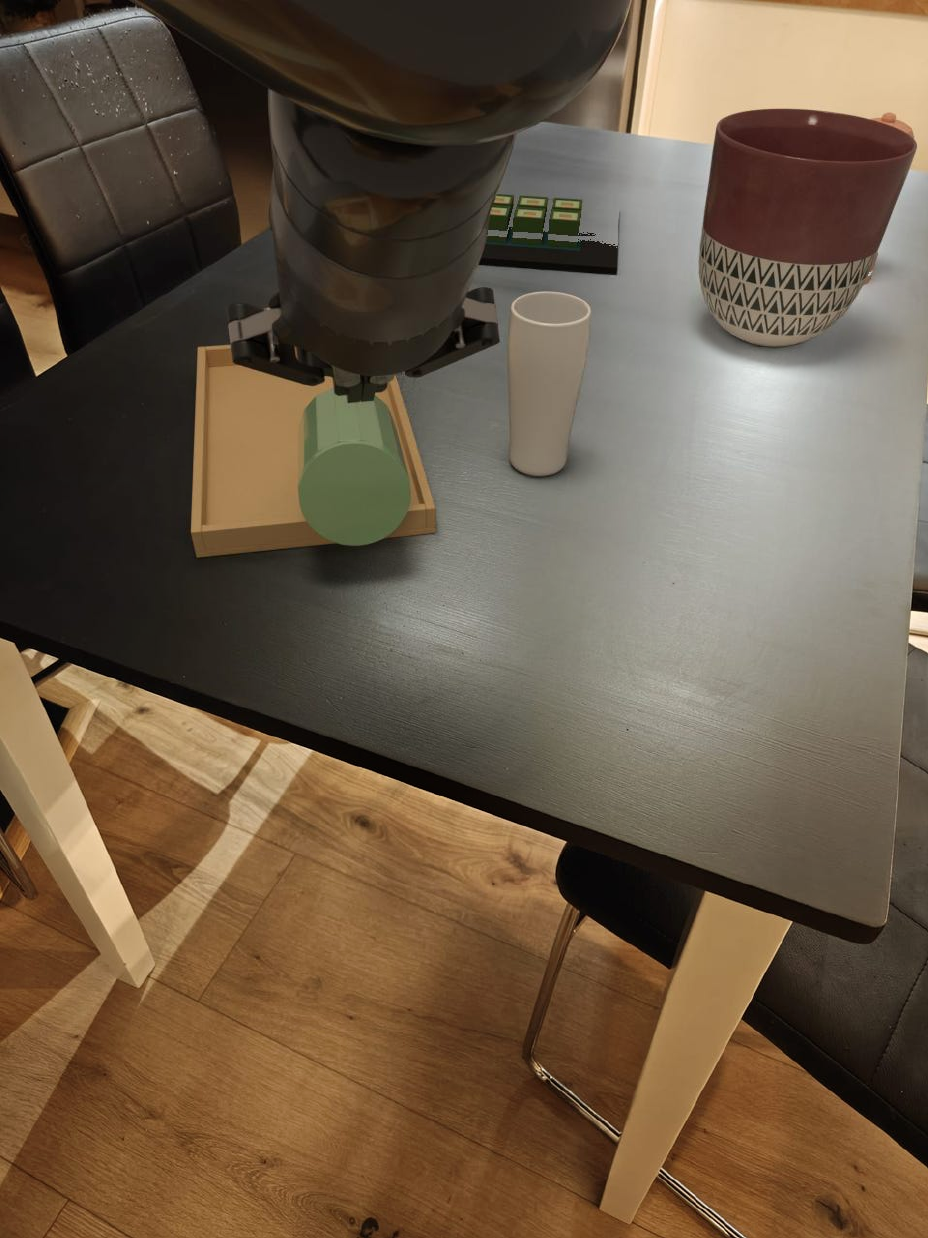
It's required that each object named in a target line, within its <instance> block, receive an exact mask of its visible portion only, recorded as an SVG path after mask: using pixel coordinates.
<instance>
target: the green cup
mask: <svg viewBox="0 0 928 1238" xmlns="http://www.w3.org/2000/svg"><path fill="white" fill-rule="evenodd" d="M298 495H299V504H300V508H301V511H302V514H303V516H304V518H305V519H306V521H307V522H308V524H309V525H310V526H311V527H312V528H313V529H314V530H315V531H316V532H317V533H318V534H319V535H321V536H322V537H324V538H326V539H328V540H330V541H332V542H335V543H334V544H338V545H343V546H348V547H349V546H351V547H355V546H356V547H359V546H367V545H370V544H374V543H376V542H380V541H381V540H383V539H386V538H385V537H387V536H388V535H389V534H391V533H392V532H393V531H394V530H395V529H396V528H397V527H398V526H399V525H400V524H401V523H402V521H403V519H404V518H405V516H406V514H407V512H408V508H409V505H410V499H411V489H410V479H409V475H408V471H407V467H406V463H405V459H404V455H403V451H402V447H401V443H400V439H399V435H398V431H397V427H396V423H395V420H394V418H393V416H392V414H391V412H390V410H389V408H388V406H387V405H386V404H385V403H384V402H383V401H382V400H381V399H379V398H378V397H377V396H376V395H375V397H374V401H368V402H361V401H360V402H356V403H348V402H347V396H346V395H343V396H337V395H336V394H335V393H334V388H331V389H329V390H327V391H325V392H323V393H321V394H319V395H317V396H316V397H315V398H314V399H313V400H312V401H311V402H310V403H309V405H308V406H307V407H306V408H305V409H304V411H303V414H302V417H301V420H300V424H299V427H298Z"/></svg>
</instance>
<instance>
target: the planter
mask: <svg viewBox="0 0 928 1238" xmlns="http://www.w3.org/2000/svg"><path fill="white" fill-rule="evenodd" d="M871 119H872V118H866V117H862V116H857V115H853V114H849V113H847V114H846V113H841V112H834V111H827V110H818V109H807V108H806V109H804V108H761V109H752V110H751V109H750V110H744V111H739V112H735V113H732V114H729V115H726V116H724V117H723V118H721V119H720V120H719V121H718V122H717V124H716V127H715V133H714V140H713V145H712V151H711V160H710V167H709V177H708V181H707V182H708V183H707V189H706V195H705V203H704V209H703V218H702V226H701V234H700V241H699V250H698V279H699V287H700V292H701V296H702V298H703V301H704V303H705V305H706V308H707V309H708V311H709V312H710V314H711V316H712V317H713V318H714V319H715V320H716V322H717V323H718V324H719V325H720V326H721V327H722V328H723V329H724V330H725V331H726V332H728V333H729V334H730V335H732V336H733V335H734V336H733V337H735V336H736V337H735V338H737V339H739V338H740V339H739V340H741V339H742V340H741V341H743V342H746V343H749V344H753V345H757V346H762V347H774V348H775V347H776V348H777V347H779V348H780V347H788V346H793V345H796V344H800V343H804V342H806V341H808V340H810V339H812V338H815V337H817V336H818V335H820V334H822V333H823V332H825V331H826V330H828V329H830V328H831V327H832V326H833V325H834V324H836V323H837V322H838V321H839V320H840V319H841V318H842V317H843V316H844V315H845V314H846V313H847V311H848V310H849V309H850V307H851V306H852V304H854V302H855V300H856V299H857V297H858V295H859V294H860V292H861V290H862V289H863V286H864V285H865V284H866V283H865V281H866V279H867V276H868V274H869V272H870V269H871V267H872V264H873V262H874V259H875V256H876V254H877V251H879V249H880V246H881V244H882V241H883V239H884V236H885V234H886V231H887V229H888V226H889V223H890V221H891V218H892V215H893V212H894V210H895V207H896V204H897V202H898V199H899V197H900V195H901V192H902V190H903V187H904V184H905V183H906V179H907V177H908V174H909V171H910V169H911V166H912V163H913V160H914V158H915V155H916V152H917V150H918V143H917V141H916V140H915V137H914V138H912V137H911V136H910V135H909V134H907V133H906V132H904V131H902V130H900V129H898V128H895V127H893V126H890V125H888V124H885V123H882V122H878V121H875V120H871ZM864 283H865V284H864ZM744 340H745V341H744ZM747 341H748V342H747ZM750 342H751V343H750ZM754 343H755V344H754ZM759 344H760V345H759Z"/></svg>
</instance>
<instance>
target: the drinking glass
mask: <svg viewBox="0 0 928 1238" xmlns="http://www.w3.org/2000/svg"><path fill="white" fill-rule="evenodd" d="M509 311H510V313H509V321H508V330H507V331H508V332H507V382H508V383H507V385H508V387H507V388H508V412H509V413H508V414H509V415H508V417H509V452H508V457H509V462H510V464H511V465H512V467H513V468H514V469H516V470H517V471H518V472H520V473H522V474H524V475H528V476H532V477H546V476H551V475H554V474H557V473H558V472H560V471H561V470H562V469H563V468H564V467H565V465H566V463H567V459H568V451H569V444H570V439H571V434H572V430H573V424H574V418H575V415H576V410H577V405H578V402H579V401H578V400H579V396H580V391H581V388H582V387H581V386H582V382H583V376H584V373H585V369H586V362H587V356H588V349H589V342H590V331H591V321H592V320H591V318H592V308H591V307H590V304H589V303H587V302H586V301H585V300H583V299H582V298H580V297H578V296H576V295H572V294H569V293H566V292H565V293H564V292H559V291H535V292H534V291H533V292H529V293H525V294H523V295H521V296H519V297H517V298H515V299H514V300H513V302H512V303H511V305H510V310H509Z"/></svg>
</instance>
